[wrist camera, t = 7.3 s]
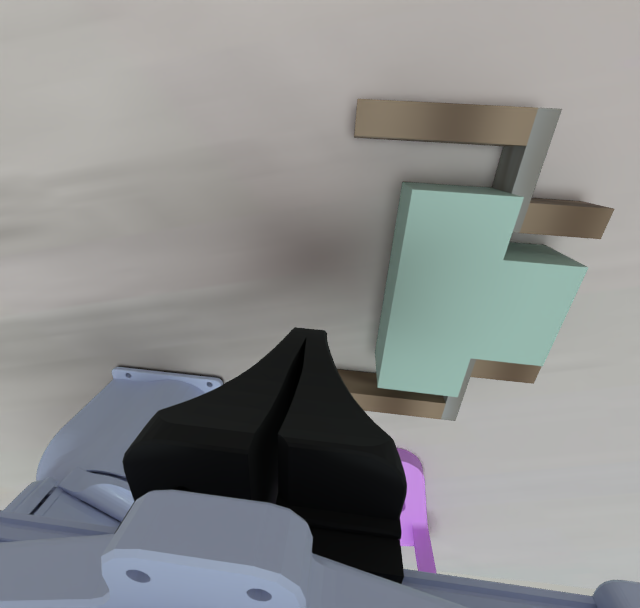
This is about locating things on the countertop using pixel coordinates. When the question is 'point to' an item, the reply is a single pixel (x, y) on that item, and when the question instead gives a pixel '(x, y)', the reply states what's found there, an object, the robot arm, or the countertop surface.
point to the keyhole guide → (512, 176)
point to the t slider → (466, 289)
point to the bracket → (415, 513)
